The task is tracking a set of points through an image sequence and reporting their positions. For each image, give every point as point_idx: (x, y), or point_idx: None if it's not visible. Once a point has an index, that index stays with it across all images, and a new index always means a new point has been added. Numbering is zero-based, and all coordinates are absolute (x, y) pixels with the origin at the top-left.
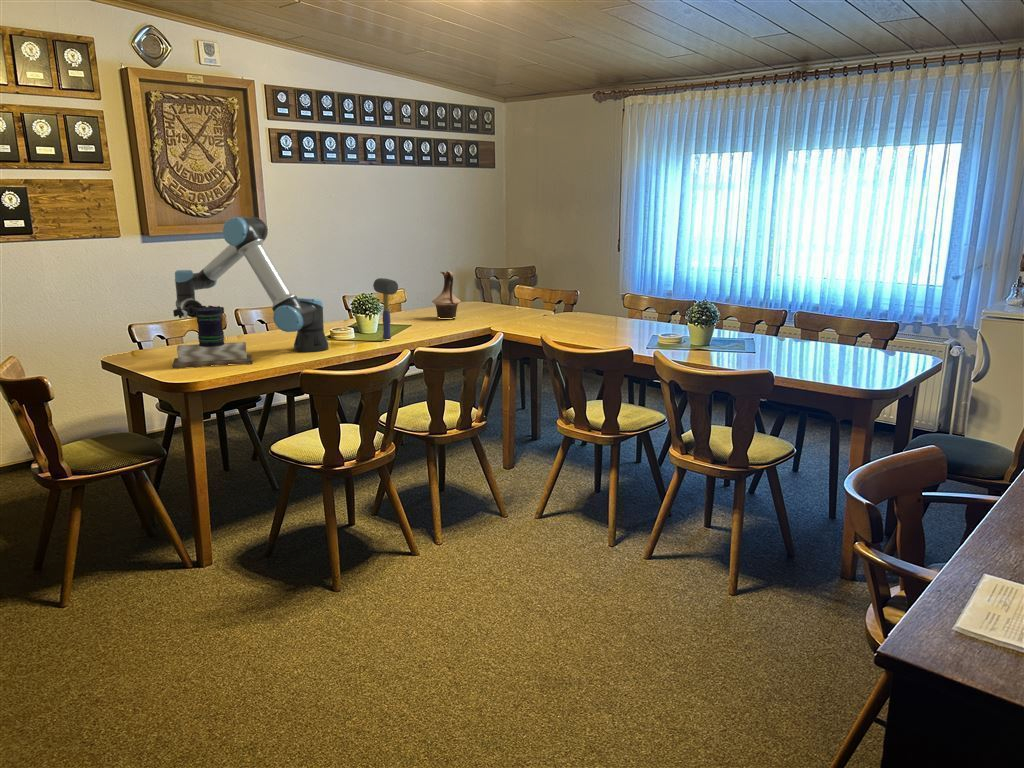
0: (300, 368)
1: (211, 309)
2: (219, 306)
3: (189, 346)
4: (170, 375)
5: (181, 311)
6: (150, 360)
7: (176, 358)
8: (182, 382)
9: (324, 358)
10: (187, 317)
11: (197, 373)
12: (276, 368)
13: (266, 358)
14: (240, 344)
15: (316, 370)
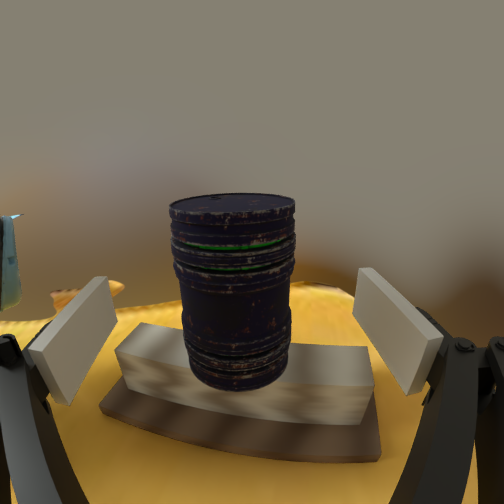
0: (114, 294)
1: (226, 198)
2: (2, 338)
3: (325, 357)
4: (356, 324)
5: (445, 360)
6: (466, 490)
7: (373, 447)
8: (326, 288)
9: (28, 322)
10: (353, 307)
11: (300, 323)
12: (142, 306)
13: (85, 381)
14: (151, 329)
15: (109, 281)
